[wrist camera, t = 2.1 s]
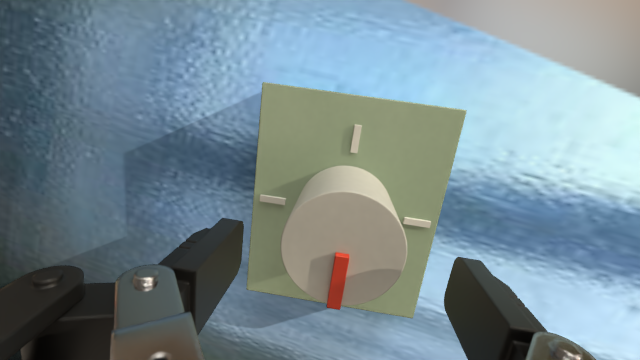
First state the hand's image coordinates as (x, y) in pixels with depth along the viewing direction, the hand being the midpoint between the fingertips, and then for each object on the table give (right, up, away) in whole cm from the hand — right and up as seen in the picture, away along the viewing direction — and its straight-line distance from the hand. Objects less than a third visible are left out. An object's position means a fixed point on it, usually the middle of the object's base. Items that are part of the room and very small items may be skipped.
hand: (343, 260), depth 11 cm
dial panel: (+1, +2, +8) cm, 8 cm away
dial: (0, +1, +5) cm, 5 cm away
